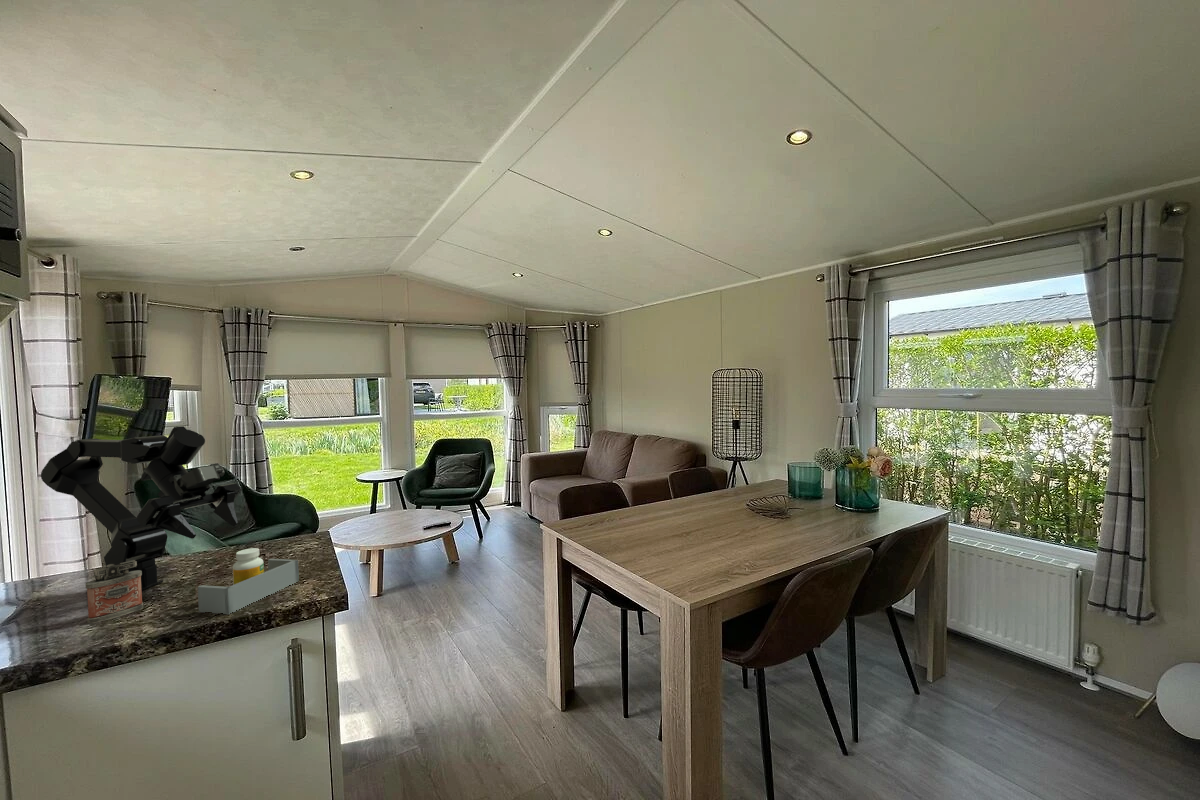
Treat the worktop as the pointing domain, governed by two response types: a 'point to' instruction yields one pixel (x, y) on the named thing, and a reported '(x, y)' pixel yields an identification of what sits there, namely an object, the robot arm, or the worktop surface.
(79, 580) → the worktop surface
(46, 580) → the worktop surface
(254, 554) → the supplement bottle
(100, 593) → the lighter
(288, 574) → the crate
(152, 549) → the robot arm
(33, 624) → the worktop surface
